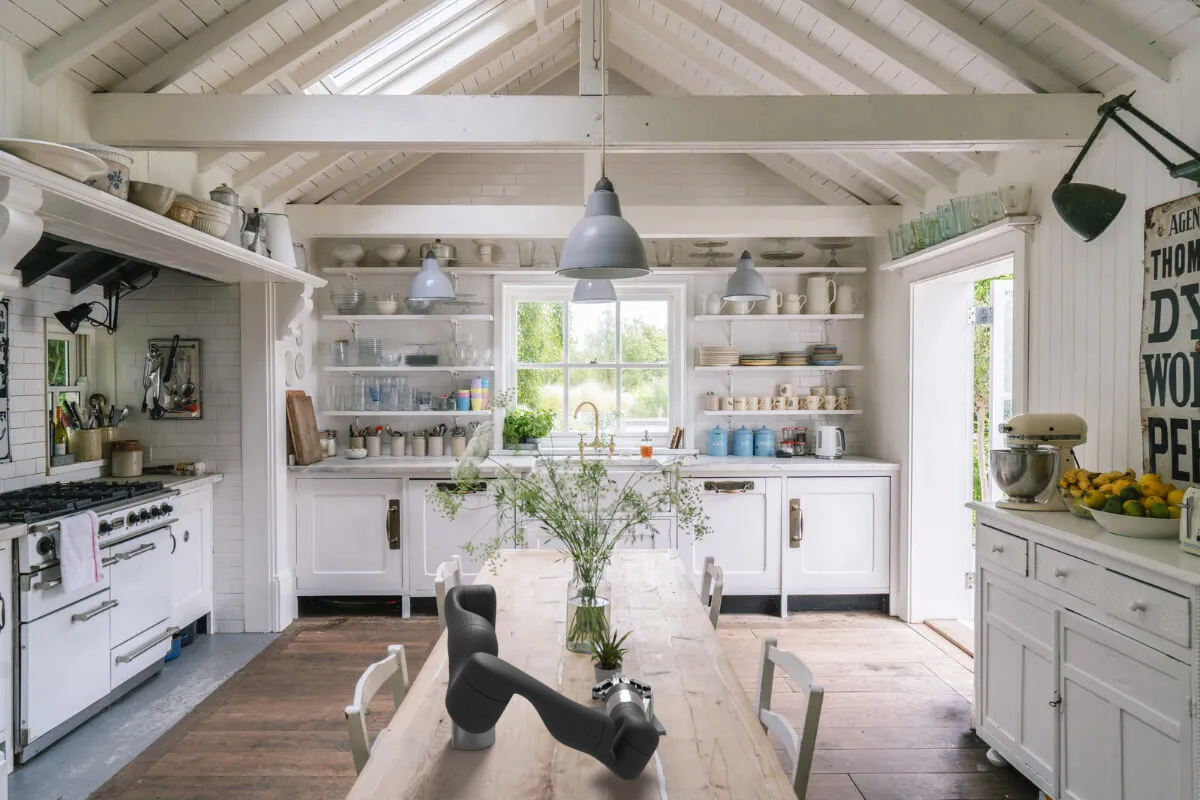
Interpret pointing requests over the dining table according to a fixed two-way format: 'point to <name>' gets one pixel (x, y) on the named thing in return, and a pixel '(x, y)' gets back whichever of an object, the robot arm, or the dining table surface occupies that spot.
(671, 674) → the dining table surface
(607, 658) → the house plant
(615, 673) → the robot arm
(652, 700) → the syrup box
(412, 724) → the dining table surface
